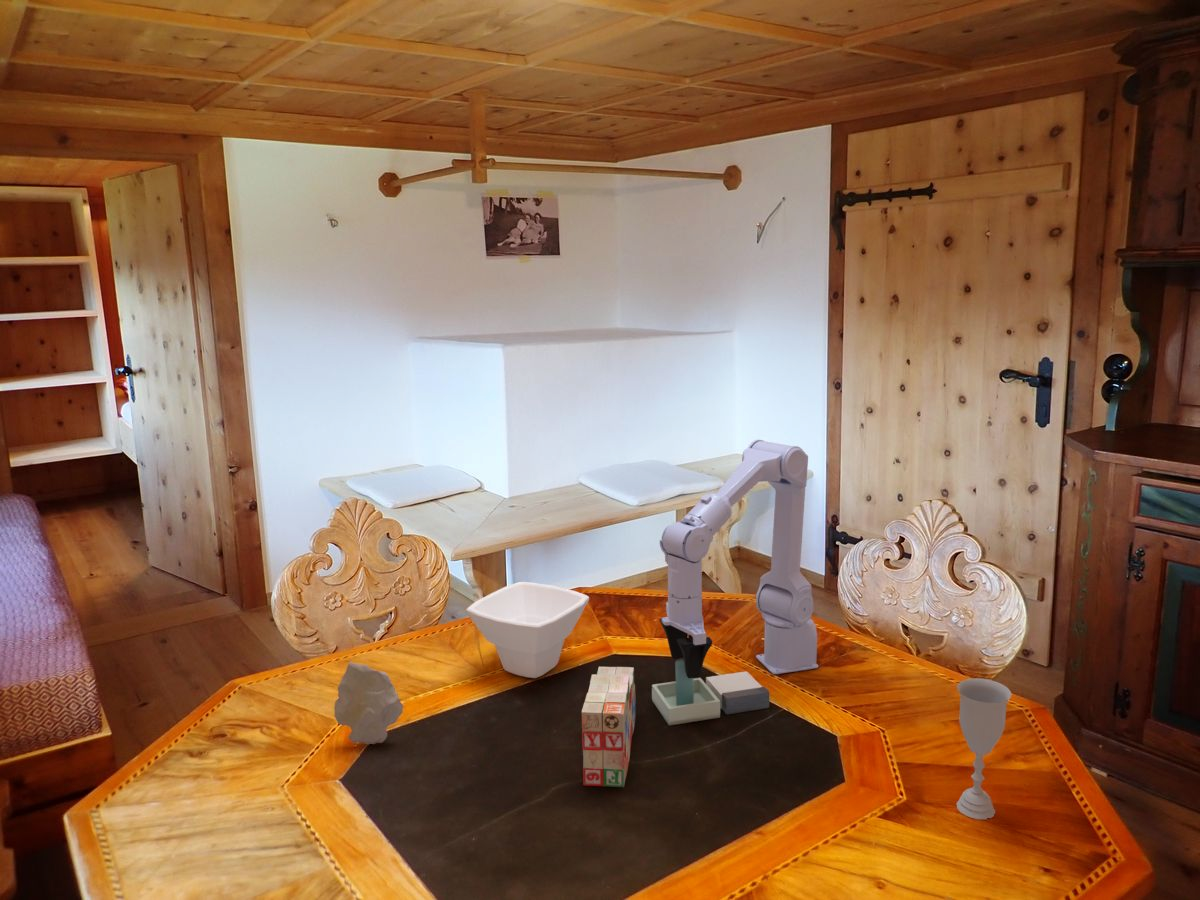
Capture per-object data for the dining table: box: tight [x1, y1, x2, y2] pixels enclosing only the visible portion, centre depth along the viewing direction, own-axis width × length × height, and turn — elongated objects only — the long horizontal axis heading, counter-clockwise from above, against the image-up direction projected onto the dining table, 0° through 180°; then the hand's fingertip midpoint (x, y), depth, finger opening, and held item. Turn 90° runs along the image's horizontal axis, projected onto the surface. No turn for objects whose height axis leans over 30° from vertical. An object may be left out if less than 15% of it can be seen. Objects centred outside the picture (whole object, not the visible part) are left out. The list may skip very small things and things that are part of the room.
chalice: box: [956, 677, 1012, 820], centre depth 123 cm, size 7×7×18 cm
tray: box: [651, 677, 721, 726], centre depth 155 cm, size 9×9×3 cm
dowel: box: [674, 658, 694, 706], centre depth 154 cm, size 3×3×8 cm
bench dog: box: [721, 686, 771, 715], centre depth 154 cm, size 8×2×3 cm, turn 105°
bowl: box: [465, 581, 590, 679], centre depth 170 cm, size 19×19×14 cm
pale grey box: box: [705, 671, 763, 710], centre depth 159 cm, size 8×7×3 cm
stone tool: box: [333, 661, 404, 746], centre depth 144 cm, size 11×4×15 cm, turn 95°
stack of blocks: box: [581, 666, 637, 788], centre depth 142 cm, size 21×6×12 cm, turn 173°
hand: (685, 667), depth 153 cm, fingers open, 7 cm apart
